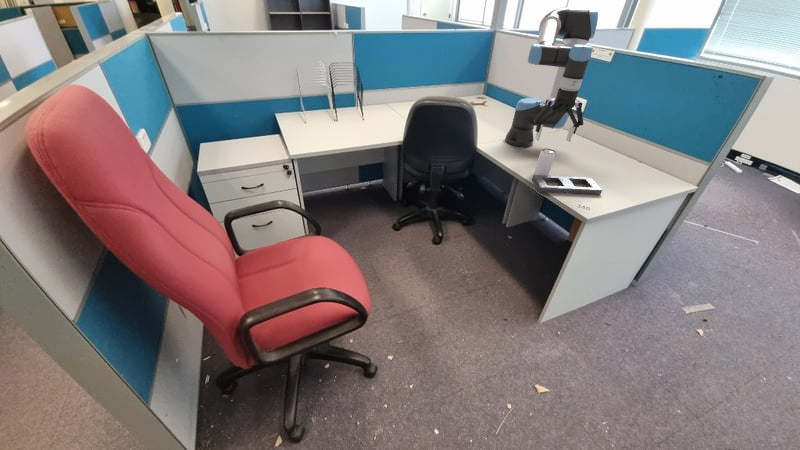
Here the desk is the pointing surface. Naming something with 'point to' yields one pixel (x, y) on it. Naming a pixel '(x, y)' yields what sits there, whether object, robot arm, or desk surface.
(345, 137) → the desk surface
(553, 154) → the can
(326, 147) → the desk surface
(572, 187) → the holder
